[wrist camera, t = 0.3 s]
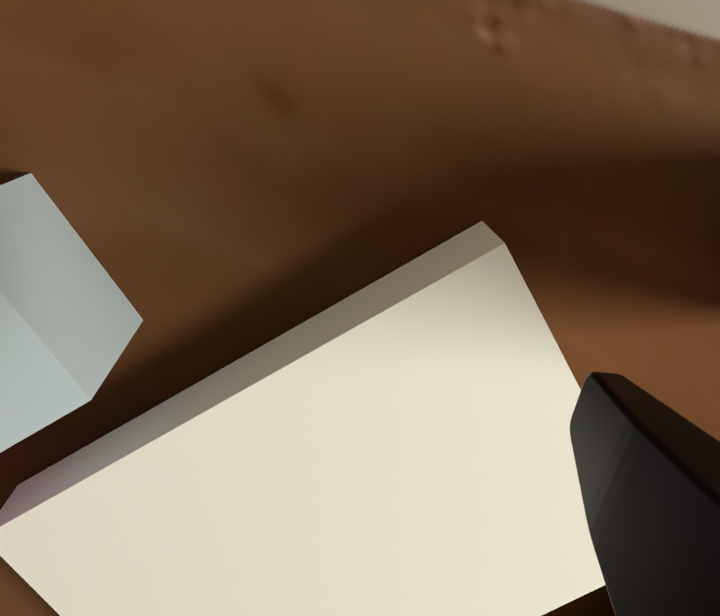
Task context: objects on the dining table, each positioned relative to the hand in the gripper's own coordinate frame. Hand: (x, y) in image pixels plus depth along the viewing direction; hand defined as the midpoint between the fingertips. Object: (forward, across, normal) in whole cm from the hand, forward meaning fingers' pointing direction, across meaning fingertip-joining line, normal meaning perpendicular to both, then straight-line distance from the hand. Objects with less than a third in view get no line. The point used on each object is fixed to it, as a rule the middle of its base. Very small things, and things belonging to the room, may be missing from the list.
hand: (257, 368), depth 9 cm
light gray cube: (+13, +9, +7) cm, 18 cm away
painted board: (+12, -2, +15) cm, 19 cm away
